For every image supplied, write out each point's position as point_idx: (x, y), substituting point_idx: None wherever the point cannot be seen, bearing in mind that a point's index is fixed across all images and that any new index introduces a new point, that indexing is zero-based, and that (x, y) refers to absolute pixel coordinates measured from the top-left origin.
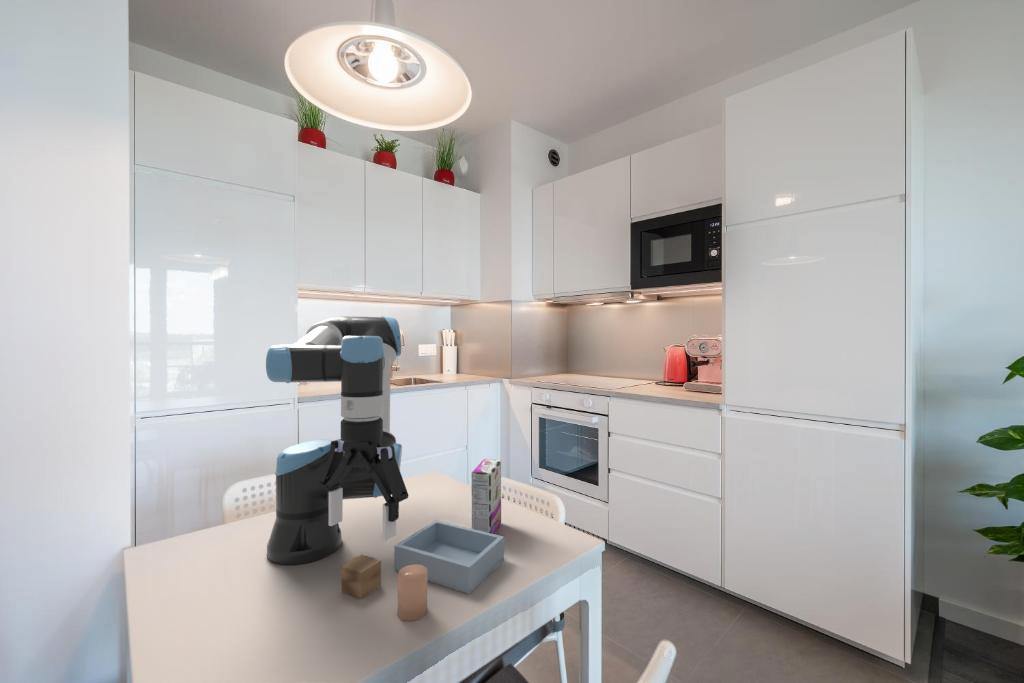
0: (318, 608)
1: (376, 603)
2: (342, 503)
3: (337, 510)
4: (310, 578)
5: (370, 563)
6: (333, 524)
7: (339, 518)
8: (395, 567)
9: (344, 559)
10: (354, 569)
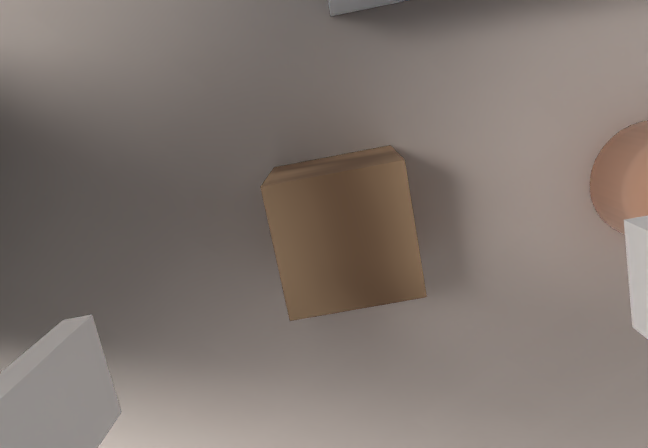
0: (326, 382)
1: (481, 233)
2: (15, 385)
3: (58, 415)
4: (99, 300)
5: (386, 215)
6: (112, 396)
7: (85, 354)
8: (338, 13)
9: (49, 116)
10: (369, 298)
